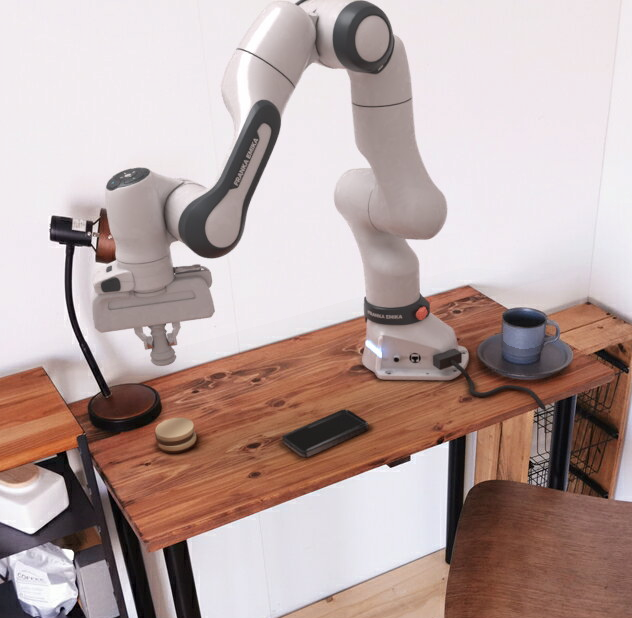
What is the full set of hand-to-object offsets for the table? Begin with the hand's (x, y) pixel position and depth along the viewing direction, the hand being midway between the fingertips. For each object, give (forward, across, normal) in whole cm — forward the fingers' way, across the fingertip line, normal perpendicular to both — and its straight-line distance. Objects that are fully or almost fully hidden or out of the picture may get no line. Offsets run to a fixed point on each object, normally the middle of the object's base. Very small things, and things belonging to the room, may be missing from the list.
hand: (161, 346), depth 158 cm
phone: (+20, -26, +6) cm, 34 cm away
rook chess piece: (+3, 0, 0) cm, 3 cm away
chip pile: (+20, 0, 0) cm, 20 cm away
